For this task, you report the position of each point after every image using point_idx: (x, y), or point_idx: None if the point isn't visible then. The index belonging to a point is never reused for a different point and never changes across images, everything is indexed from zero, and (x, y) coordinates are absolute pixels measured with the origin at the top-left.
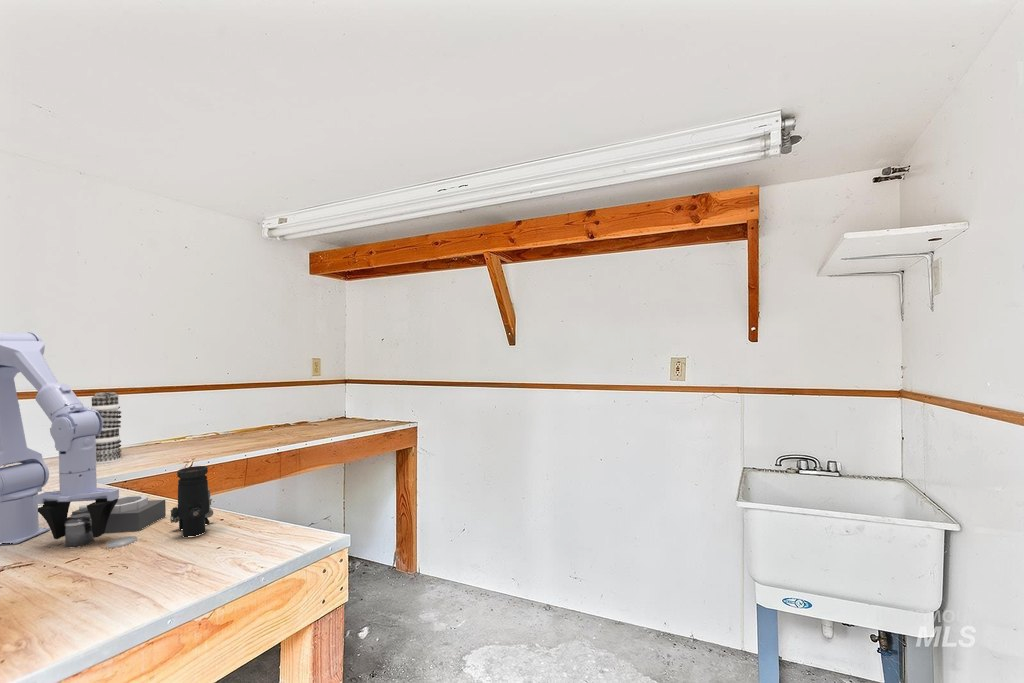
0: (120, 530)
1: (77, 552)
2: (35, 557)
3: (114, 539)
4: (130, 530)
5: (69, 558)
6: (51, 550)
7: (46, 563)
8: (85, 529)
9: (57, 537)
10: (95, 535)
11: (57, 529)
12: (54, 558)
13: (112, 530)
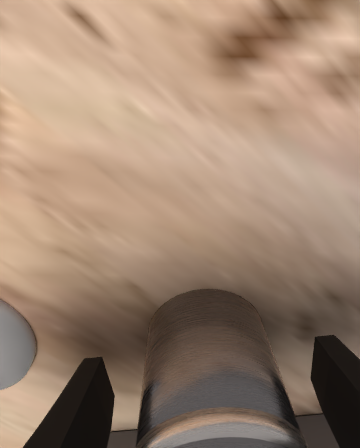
0: (126, 438)
1: (91, 235)
2: (299, 168)
3: (29, 362)
4: None
5: (41, 151)
6: (286, 260)
7: (120, 67)
8: (144, 402)
9: (319, 344)
10: (82, 365)
11: (348, 395)
12: (149, 152)
13: None
